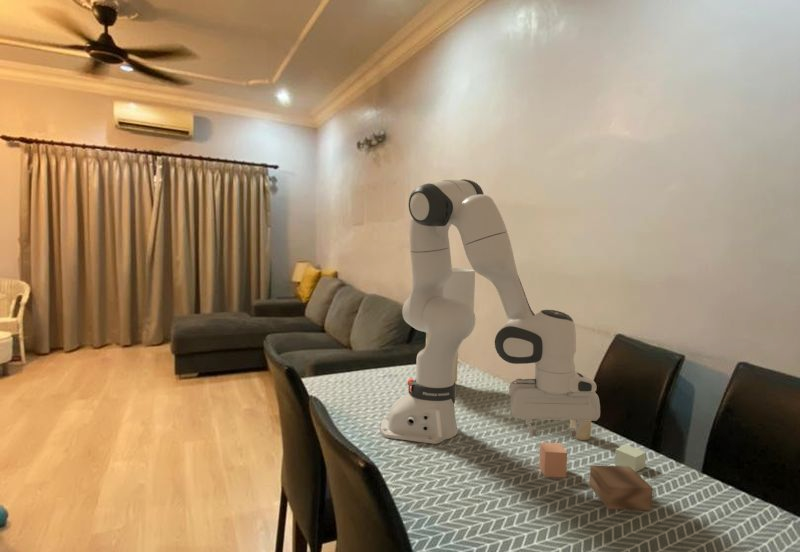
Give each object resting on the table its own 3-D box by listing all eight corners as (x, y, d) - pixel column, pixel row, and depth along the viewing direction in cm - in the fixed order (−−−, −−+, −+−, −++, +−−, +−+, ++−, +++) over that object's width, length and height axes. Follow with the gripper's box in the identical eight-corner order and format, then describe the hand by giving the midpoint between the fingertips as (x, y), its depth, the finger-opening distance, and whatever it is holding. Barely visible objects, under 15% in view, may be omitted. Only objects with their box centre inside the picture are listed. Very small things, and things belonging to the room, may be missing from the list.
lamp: (407, 376, 181) (410, 267, 177) (462, 376, 183) (466, 268, 180) (415, 396, 158) (419, 270, 155) (478, 395, 160) (482, 272, 157)
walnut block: (608, 510, 93) (609, 487, 92) (589, 486, 102) (590, 465, 101) (650, 511, 93) (652, 488, 93) (628, 487, 102) (629, 466, 102)
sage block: (614, 464, 112) (615, 449, 112) (625, 459, 115) (626, 444, 115) (634, 473, 108) (635, 457, 108) (644, 467, 111) (646, 452, 111)
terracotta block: (544, 476, 105) (545, 451, 105) (538, 465, 110) (540, 442, 110) (566, 477, 105) (567, 452, 105) (559, 466, 110) (560, 443, 110)
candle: (592, 441, 125) (594, 406, 124) (571, 439, 126) (573, 404, 125) (588, 433, 130) (590, 399, 129) (568, 431, 131) (570, 398, 131)
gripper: (511, 383, 102) (510, 440, 104) (604, 385, 101) (601, 443, 102) (507, 374, 109) (506, 428, 110) (594, 375, 107) (592, 431, 108)
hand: (553, 435), depth 106 cm, fingers open, 8 cm apart
